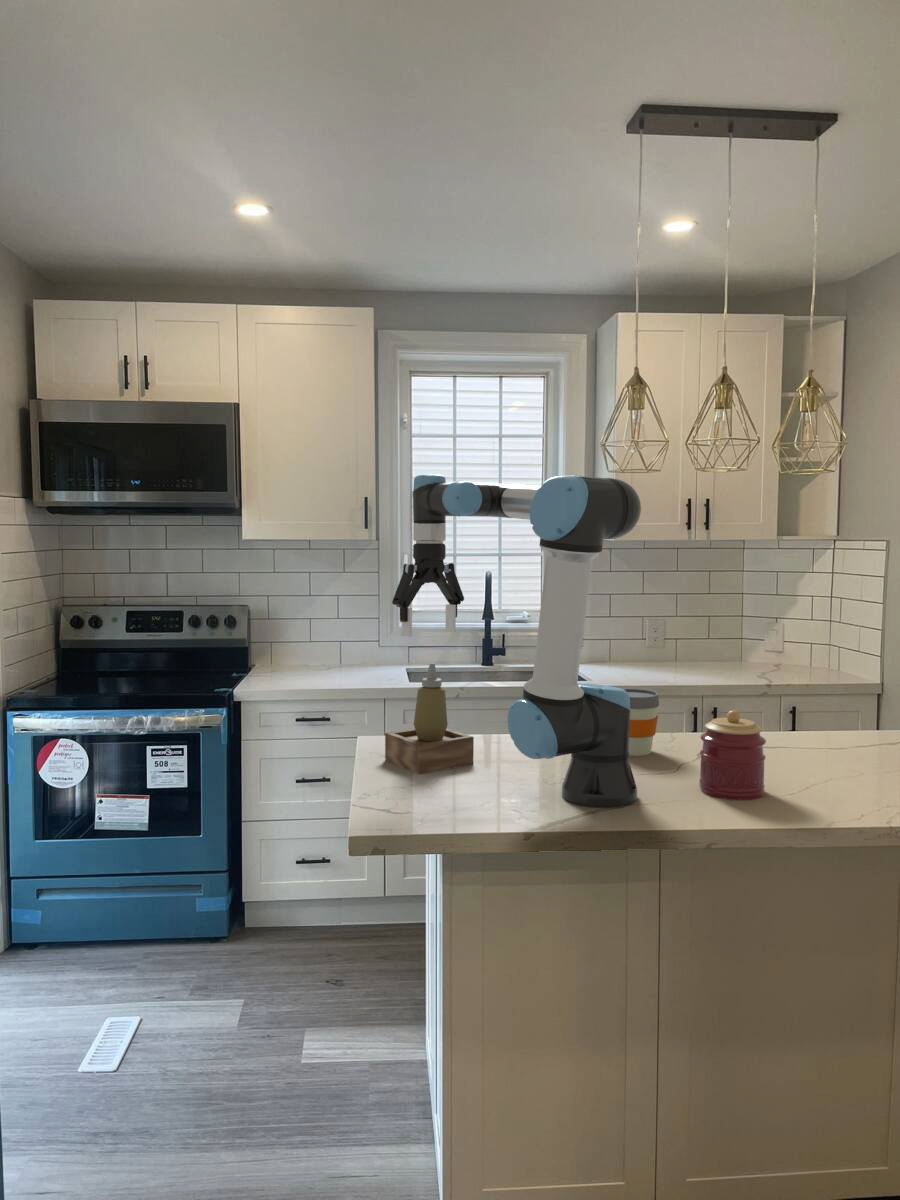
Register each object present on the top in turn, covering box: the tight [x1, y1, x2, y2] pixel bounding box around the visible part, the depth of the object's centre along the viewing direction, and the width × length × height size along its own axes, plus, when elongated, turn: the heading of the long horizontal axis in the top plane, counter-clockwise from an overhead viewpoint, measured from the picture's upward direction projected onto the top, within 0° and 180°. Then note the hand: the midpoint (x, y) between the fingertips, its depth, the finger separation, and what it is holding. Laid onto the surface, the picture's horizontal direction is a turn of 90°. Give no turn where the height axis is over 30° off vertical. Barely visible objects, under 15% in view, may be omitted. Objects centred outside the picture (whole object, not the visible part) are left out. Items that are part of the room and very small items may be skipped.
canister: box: [698, 709, 767, 801], centre depth 181 cm, size 13×13×18 cm
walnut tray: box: [384, 727, 475, 775], centre depth 206 cm, size 15×15×7 cm
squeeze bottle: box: [413, 662, 448, 741], centre depth 205 cm, size 8×8×18 cm
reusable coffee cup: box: [623, 688, 660, 757], centre depth 216 cm, size 13×13×15 cm
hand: (429, 634), depth 203 cm, fingers open, 13 cm apart
